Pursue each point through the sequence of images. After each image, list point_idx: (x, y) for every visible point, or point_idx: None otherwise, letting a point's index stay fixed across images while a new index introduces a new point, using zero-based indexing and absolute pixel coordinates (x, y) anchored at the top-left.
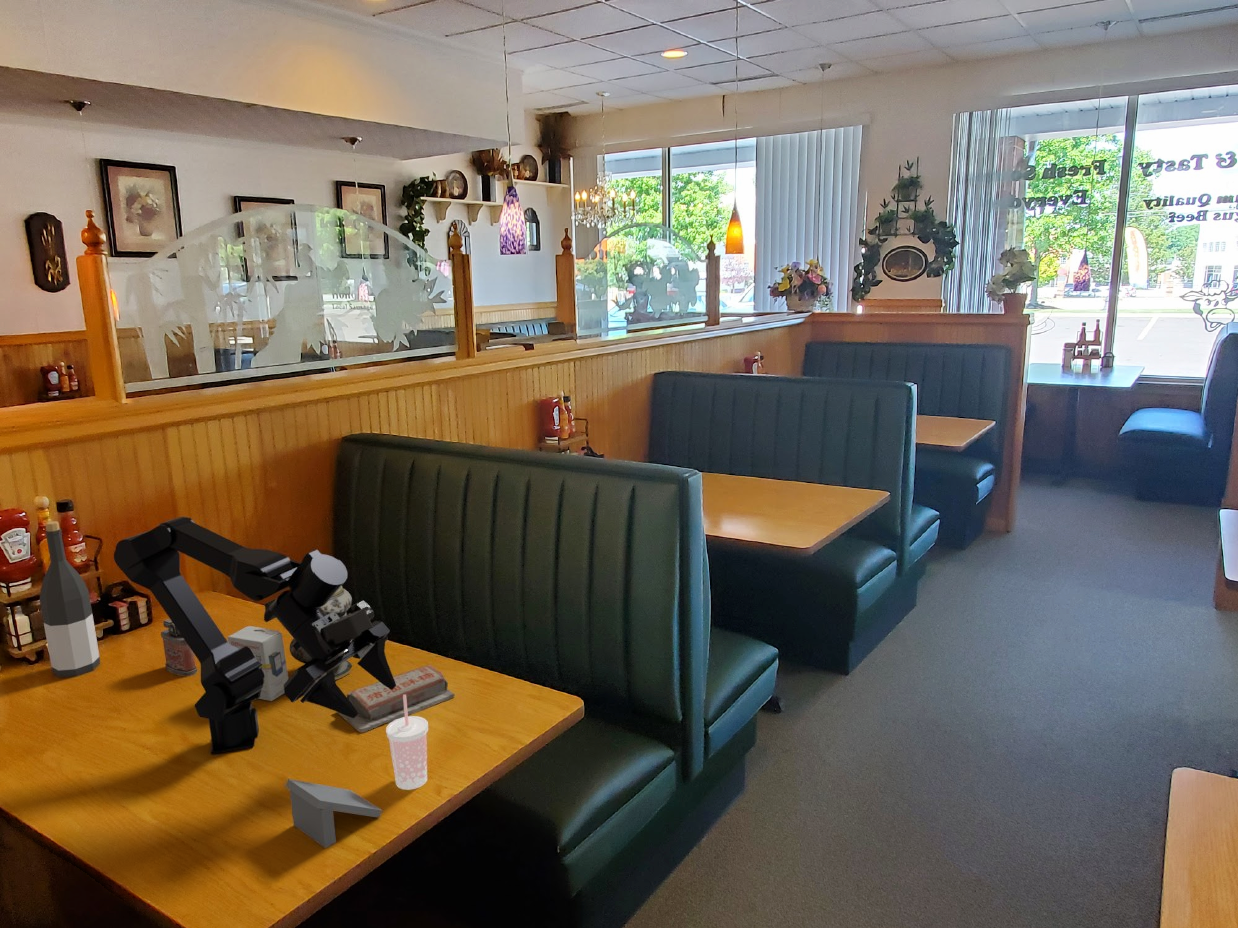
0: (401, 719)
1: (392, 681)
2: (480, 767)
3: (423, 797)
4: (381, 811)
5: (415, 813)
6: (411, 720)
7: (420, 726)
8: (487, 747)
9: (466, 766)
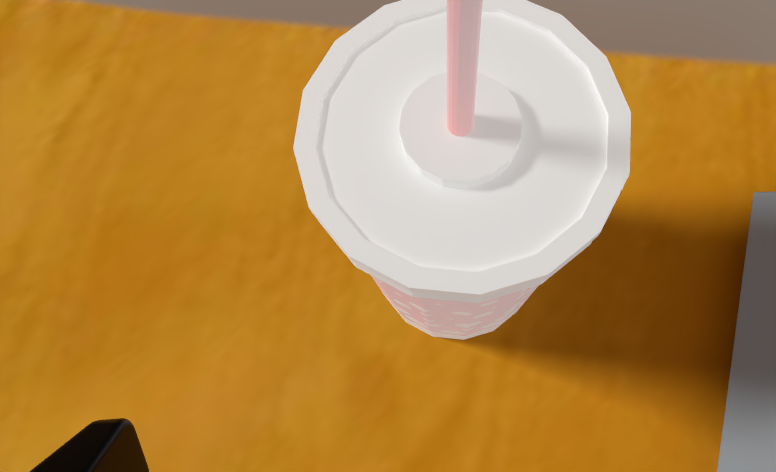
0: (384, 247)
1: (89, 456)
2: (240, 53)
3: None
4: (758, 193)
5: (650, 88)
6: (359, 170)
7: (408, 54)
8: (82, 118)
9: (254, 110)
